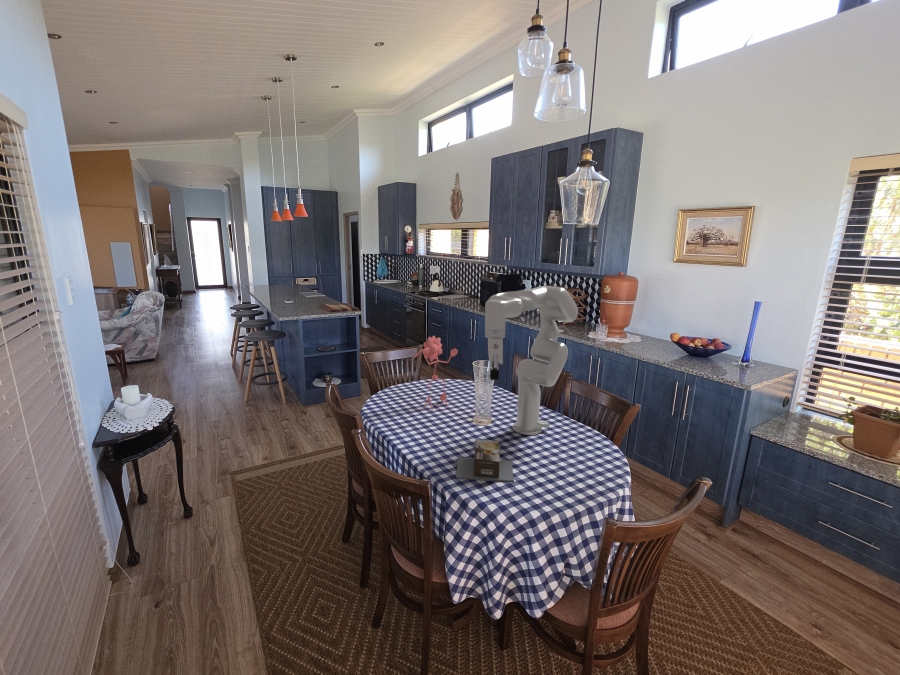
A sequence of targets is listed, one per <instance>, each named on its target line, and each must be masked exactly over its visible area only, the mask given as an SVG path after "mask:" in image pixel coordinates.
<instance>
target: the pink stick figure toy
mask: <svg viewBox="0 0 900 675" xmlns="http://www.w3.org/2000/svg"><path fill="white" fill-rule="evenodd" d="M441 339H442V338H441V337H436V335H432V336H428V337H427V341H424V342H423V347H424V348H423V349H422V348H421V349H420V350H419V351H418V352H417V353H415V355H413V357H412V358H411V359H410V361H413V360H414V359H415V358H417V357H418V356H419V355H420V354H421V353H422V354H423V357H424V359H425V361H426V362H427V364H428V365H432V364H434V371H433V375H432V376H431V380H430V383H429V384H428V389H430V386H431V383H432V382H433V381H436V380H440V381H443V382H444V384H443V389H445V387H446V386H445V385H446V380H444V379H442V378H439V377H438V375H437V374H436V369H437V365H438V363H445V364H448V363H449V362H450V360H451V358H452V357H453V358H454V357H455V356H457V355H458V353H459V352H458V349H456V348H452V349H451V350H450V352H449V353H450V356H449V358H448V360H447V361H443V360H439V355H442V354H443V348H442V347H443V344H442V343H441ZM428 359H429V360H428ZM434 360H435V361H434ZM429 361H430V362H429ZM430 398H431V399H432V396H429V397H427V399H426V401H425V403H424V404H423V408H425V407H426V405H427V404H428V403H429V404H430V406H431V407H430V408H431V410H432V411H434V408H433V404H432V401H431V399H430ZM446 398H447V393H446V392H445V390H443V393H442V394H441V395H440V396H439V400H440V401H441V402H445V406H446V405H447V406H448V402H447V400H446ZM423 400H424V398H423V399H422V401H423ZM413 405H415V403H414V402H413Z"/></svg>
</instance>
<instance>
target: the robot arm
mask: <svg viewBox="0 0 900 675" xmlns="http://www.w3.org/2000/svg"><path fill="white" fill-rule="evenodd" d="M484 305H485V308H484V309H485V310H484V311H485V312H484V316H485V317H484V323H485V324H484V338H487V356H488V360H489V364H490V368H489V378H490V380H491V381H498V380H499V378H500V375H499V374H500V373H499V372H500V370H499V365H503V364H504V357H503V356H504V354H503V353H504V352H503V351H504V343H503V339H504V338H506V323H507V322H506V319H507V318H508V319H509V318H511V319H512V318H517V317H519V316H521V315H522V313H523V312H526V311H527V312H529V311H531V312H532V311H534V310H537V309H539V316H540V329H539V332H538V334H537V336H536V338H535V339H534V342H533V344H532V345H531V349H530V356H531V357H532V358H533V359H530V358H524V359H522V360H521V361H519V363H518V365H517V369H516V370H517V371H516V372H517V373H516V375H517V380H518V388H517V389H518V390H517V391H518V393H517V394H518V395H517V409H516V422H514V423H513V424H512V430H513V431H514V432H516V433H518V434H520V435H525V436H534V435H539V434H540V433H541V432H542V430H543V429H542V428H550V427H551V426H550V422H546V421H545V420H542V421H541V420H540V409H541V408H540V407H541V406H540V405H541V395H542V394H541V392H542V391H541V388H540V386H543V387H549V388H551V387H553V386H554V385H555V384H556V383H557V381H558V379H559V377H560V375H561V373H562V370H563V369H564V366H565V364H566V362H567V359H568V356H569V349H568V346H567V345H566V344H565V343H563V342H560V341H558V339H559V337H560V330H559V327H558V325H557V323H556V321H558V322H562V323H563V322H564V323H573V322H574V321H576V319H577V318H578V315H579V308H578V306H577V303H576V302H575V300H574V299H573V296H571V294H570V293H569V292H568V290H567V289H565V288H564V287H559V286H552V285H551V286H550V285H542V286H537V287H534V288H529V289H525V290H522V289H521V290H515V291H514V290H513V291H505V292H500V293H496V294H493V295H491V296H490V297H489V298H488V299H487V300H486V301H485V304H484Z"/></svg>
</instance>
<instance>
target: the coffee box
mask: <svg viewBox="0 0 900 675" xmlns="http://www.w3.org/2000/svg"><path fill="white" fill-rule="evenodd" d="M473 458H474V476H483V477H496V478H499V463H500V460H501V459H500V442H499V440H490V439H489V440H488V439H475V440H474V454H473Z"/></svg>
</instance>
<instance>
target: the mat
mask: <svg viewBox="0 0 900 675" xmlns="http://www.w3.org/2000/svg"><path fill="white" fill-rule="evenodd" d="M499 460H500V463H499V478H496V477H483V476H474V457H473V458H471V457H457V464H456V472H455V473H456V474H455V479H456V480H457V479H458V480H469V481H470V480H471V481H472V480H473V481H476V480H477V481H489V482H490V481H491V482H492V481H493V482H494V481H495V482H506V483H507V482H509V483H513V482H515V478H514V472H513V471H514V470H513V463H512V459H511V460H508V459H499Z"/></svg>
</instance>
